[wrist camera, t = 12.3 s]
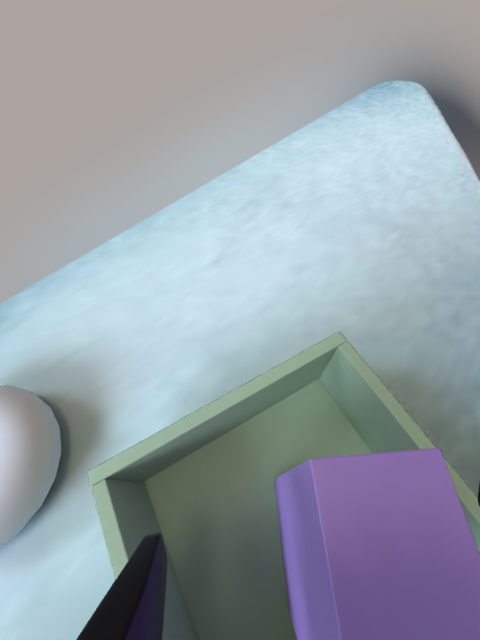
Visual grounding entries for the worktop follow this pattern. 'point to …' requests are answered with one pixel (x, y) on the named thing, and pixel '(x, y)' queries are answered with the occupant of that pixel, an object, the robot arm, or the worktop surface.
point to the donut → (25, 457)
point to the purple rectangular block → (378, 549)
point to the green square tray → (246, 487)
